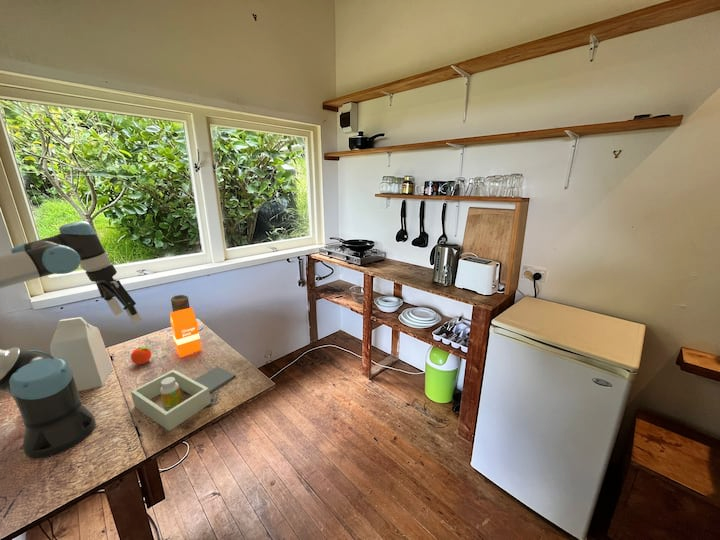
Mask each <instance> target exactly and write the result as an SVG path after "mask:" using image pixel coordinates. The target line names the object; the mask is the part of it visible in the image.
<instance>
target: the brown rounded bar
mask: <svg viewBox="0 0 720 540" xmlns="http://www.w3.org/2000/svg"><path fill="white" fill-rule="evenodd" d="M189 301H190V299H189V296H187V295H185V294H180V295H179V294H177V295H175V296H172V297H171V298H170V302H171V308H172V312H175V311H179V310H183V309H187V308H191V307H190V302H189Z"/></svg>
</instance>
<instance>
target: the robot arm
mask: <svg viewBox="0 0 720 540" xmlns="http://www.w3.org/2000/svg"><path fill="white" fill-rule="evenodd" d="M58 231H59V233H57V234H55V235H52V236H49V237H45V238H42V239H38V240H34V241H32V242H31V241H30V242H27V243H25V242H24V243H23V244H21V245H17V246H14V247H12V248H11V249H10V254H6V255H0V289H3V288H7V287H10V286H13V285H17V284H21V283H25V282H27V281H28V282H29V281H32V280H35V279H38V278H42V277H47V276H50V275H54V274H56V275H62V274H63V275H64V274H65V275H66V274H69V273H72V272H74V271H76V270H77V269H78V268H79V267H80V266H81V269H82V270H83V271H85V274H86V276H87V278H88V279H89V280H90V281H91V282H94V283H95V284H96V287H97V290H98V292H99V294H100V298H101V299H104V300H105V302H106V303H107V305H108V306H109V308H110V310H111V311H112V313H113V315H114V316H119V315H121V314H122V313H124V311H125V313H126V314H127V316H128V317H129V319H130V321H131V322H132V324H136V323H138V322H140V321H142V320H143V319H142V317H141V315H140V313H139V312H138V310H137V307H135V305H137V303H136V301H135V300H134V299H133V298H132V296H131V295H130V294H129V293H128V291H127V290H126V289H125V287H124V286H123V285H122V283H121V281H120V280H119V279H118V280H117V279H114V276H115V275H116V274H117V273H118V272H117V269H116V268H115V266H114V264H113V263H112V261H111V259H110V257H109V256H110V253H108V252H106V250H105V249H104V247H103V244H102V243H101V241H100V239H99V238H98V235H97V233H96V231H95V230H94V228H93V227H92V225H91V224H90V222H88V221H83V220H80V221H73V222H70V223H65V224H63V225H61V226H59V228H58ZM119 302H120V303H121V305H122V306H123V309H122V307H121V305H120V303H119ZM0 392H3V393H9V395H10V396H11V398H12V399H13V400H14V402H15V404H16V406H17V408H18V410H19V411H18V412H19V413H20V417H21V418H22V420H23V423H24V425H25V430H24V434H23V435H24V437H23V442H22V443H23V444H22V448H23V452H24V454H25V456H26V457H28V458H30V459H43V458H48V457H52V456H54V455H58V454H60V453H63V452H65V451H68V450H69V449H71V448H73V447H74V446H77V445H78V444H79V443H81V442H82V441H83V440H85V439H86V438H87V437H88V436H89V435H90V434H91V433H92V432H93V431H94V429H95V427H96V424H97V423H96V422H97V421H96V418H95V415H94V414H93V413H92V412H91V411H90V410H89V409H88V408H86V407H85V406H84V405H83V404H82V401H81V398H80V394H79V391H77V388H76V384H75V381H74V378H73V372H72V369H71V367H70V366H69V364H68V363H67V362H66V361H65V360H62V359H57V358H55V359H54V358H53V357H52V356H51V354H49V353H47V352H45V351H41V350H38V349H37V350H35V349H32V350H31V349H29V350H27V349H24V348H19V347H16V346H15V347H12V348H8V349H1V348H0Z"/></svg>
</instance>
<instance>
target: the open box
mask: <svg viewBox="0 0 720 540" xmlns="http://www.w3.org/2000/svg"><path fill="white" fill-rule="evenodd" d="M168 377H174V378H175V380H176V382H177V383H178V384H179V388H180V390H182V391H184V392H186V393H187V394H189V395H190V397H189V398H187V399H185V400H184V401H182V403H180V404H179V405H177V406H175V407H174V408H172V409H171V410H166V409H164V407H163V408H162V407H161V406H159V405H158V404H156V403H155V402H154V401H152V399H153V398H156V397H157V396H159V395H161V393H160V389H161V387H162V386H161V381H162V380H163V379H165V378H168ZM194 380H195V379H192V378H190V377H188V376H187V375H184V374H183V373H181V372H179V371H178V370H176V369H171V370H170V371H168V372H166V373H164V374H162V375H161V376H158V377H156V378H155V379H152V380H150V381H149V382H147V383H144V384H143V385H141V386H139V387H137V388H135V389H132V390H130V393H131V398H132V403H133V405H134V407H135V408H136V409H137V410H139V411H140V412H141V413H143V414H145V416H147V417H149V418H150V419H151V420H153V421H155V422H156V423H157V424H158V425H160V426H161V427H162V428H164V429H166V430H167V431H168V432H170V431H171V430H173V429H174V428H176V427H178V426H179V425H180V424H182V423H183V422H185V421H186V420H188V419H190V418H191V417H193V416H194V415H195V414H197V413H198V412H200V411H201V410H203V409H205V408H206V407H207V406H209V405H210V404H211V403H212V401H211V400H212V399H211V394H210V393H209V388H207V387H205V386H204V385H202V384H200V383H198V382H196V381H194Z"/></svg>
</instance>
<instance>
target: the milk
mask: <svg viewBox="0 0 720 540" xmlns="http://www.w3.org/2000/svg"><path fill="white" fill-rule="evenodd" d="M56 326H57V327H56V329H55V331H54V334H53V336H52V340H51V342H50V346H49V350H50V356H52V357H53V358H54V359H55V358H57V359H62V360H65V361H66V362H67V363H68V364H69V366H70V367H71V369H72V372H73V378H74V381H75V384H76V388H77V391H78V392H81V391H86V390H90V389H95V388H99V387H103V386H104V385H105V383H106V382H107V380H108V378H109V376H110V375H111V373H112V371H113V370H114V368H113V366H112V362H111V360H110V357H109V354H108V350H107V348H106V346H105V343H104V340H103V338H102V334H101V332H100V331H101V330H100V329H99V328H98V327H97V326H95V325H92V324H90V323H88V322H87V321H86V320H85V319H84V318H83V317H82V316H78V317H72V318H63V319H60V320H59V321H58V323H57V325H56Z"/></svg>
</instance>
